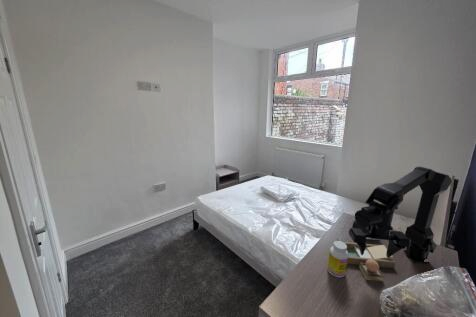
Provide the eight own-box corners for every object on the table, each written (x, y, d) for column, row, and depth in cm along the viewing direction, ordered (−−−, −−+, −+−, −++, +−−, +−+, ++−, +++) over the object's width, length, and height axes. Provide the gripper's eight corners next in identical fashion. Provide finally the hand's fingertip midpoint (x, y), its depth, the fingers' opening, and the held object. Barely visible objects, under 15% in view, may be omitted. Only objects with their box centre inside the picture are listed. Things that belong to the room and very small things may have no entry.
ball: (374, 266, 80) (376, 257, 79) (380, 275, 76) (382, 265, 75) (362, 265, 81) (364, 256, 80) (367, 273, 77) (369, 264, 76)
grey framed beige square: (374, 268, 82) (375, 264, 81) (382, 281, 76) (383, 276, 75) (359, 267, 82) (359, 262, 82) (365, 279, 77) (366, 274, 76)
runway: (381, 250, 91) (383, 241, 90) (394, 268, 82) (396, 258, 80) (336, 246, 94) (337, 237, 93) (343, 263, 85) (345, 253, 83)
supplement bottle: (337, 281, 76) (342, 253, 73) (323, 268, 82) (326, 242, 79) (349, 274, 79) (353, 247, 76) (334, 262, 85) (338, 237, 81)
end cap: (351, 232, 105) (352, 221, 103) (357, 227, 109) (359, 216, 107) (372, 242, 97) (374, 230, 95) (378, 236, 101) (380, 225, 99)
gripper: (396, 210, 79) (389, 243, 83) (346, 207, 82) (341, 239, 86) (416, 227, 68) (406, 264, 72) (357, 223, 71) (351, 259, 75)
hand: (374, 255), depth 77 cm, fingers open, 9 cm apart
